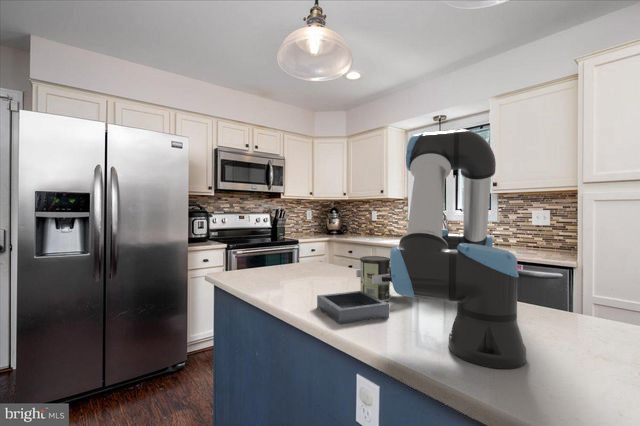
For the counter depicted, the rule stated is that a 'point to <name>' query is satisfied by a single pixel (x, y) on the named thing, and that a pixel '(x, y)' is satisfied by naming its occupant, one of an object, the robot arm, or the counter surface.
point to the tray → (352, 307)
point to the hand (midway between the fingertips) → (364, 276)
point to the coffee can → (375, 267)
